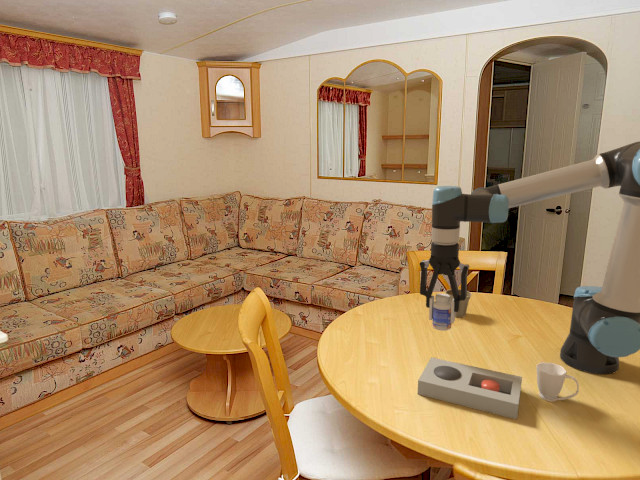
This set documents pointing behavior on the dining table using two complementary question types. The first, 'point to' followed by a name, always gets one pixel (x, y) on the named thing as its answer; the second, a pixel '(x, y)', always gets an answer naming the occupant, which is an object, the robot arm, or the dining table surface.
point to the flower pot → (462, 304)
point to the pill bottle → (442, 312)
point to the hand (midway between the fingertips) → (441, 319)
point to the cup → (552, 381)
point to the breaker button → (490, 385)
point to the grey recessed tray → (470, 387)
